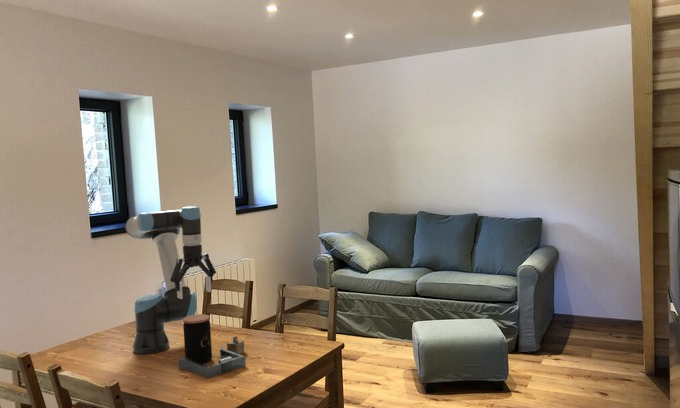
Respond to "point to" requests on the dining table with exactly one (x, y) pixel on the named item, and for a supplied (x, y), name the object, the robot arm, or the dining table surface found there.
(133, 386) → the dining table surface
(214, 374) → the gray rectangular tray
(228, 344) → the grey block
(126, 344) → the dining table surface
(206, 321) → the coffee jar
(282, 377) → the dining table surface
